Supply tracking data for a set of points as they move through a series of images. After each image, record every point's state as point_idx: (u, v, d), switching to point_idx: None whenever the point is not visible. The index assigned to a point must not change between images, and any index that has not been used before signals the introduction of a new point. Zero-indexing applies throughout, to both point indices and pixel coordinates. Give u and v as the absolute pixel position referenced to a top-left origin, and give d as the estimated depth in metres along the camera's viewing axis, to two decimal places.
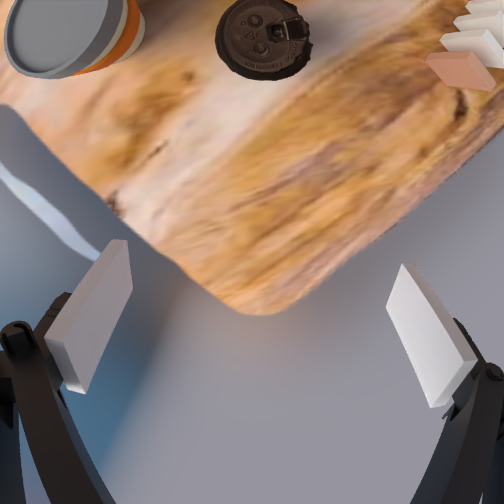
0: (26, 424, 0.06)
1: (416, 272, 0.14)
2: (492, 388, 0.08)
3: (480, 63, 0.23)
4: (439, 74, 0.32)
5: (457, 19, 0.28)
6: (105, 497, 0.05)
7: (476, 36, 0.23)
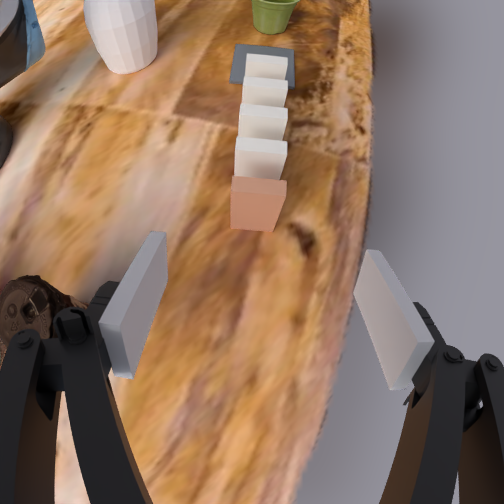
0: (71, 409, 0.06)
1: (380, 257, 0.15)
2: (452, 371, 0.08)
3: (251, 179, 0.29)
4: (253, 228, 0.38)
5: None
6: (143, 490, 0.06)
7: (235, 156, 0.31)
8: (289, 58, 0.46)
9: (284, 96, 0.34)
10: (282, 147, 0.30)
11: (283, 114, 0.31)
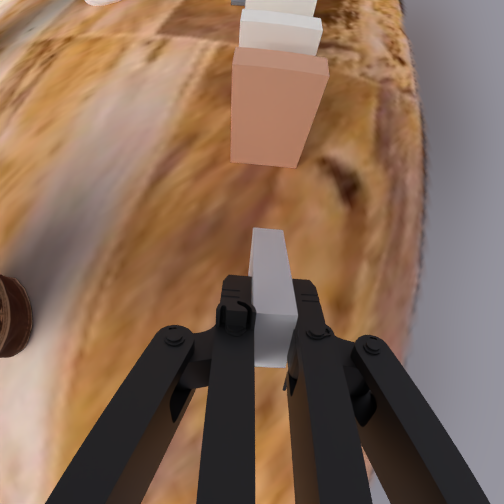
0: (211, 396, 0.08)
1: (279, 236, 0.15)
2: (321, 350, 0.09)
3: (267, 51, 0.15)
4: (267, 160, 0.23)
5: None
6: None
7: (240, 35, 0.17)
8: None
9: None
10: (314, 23, 0.16)
11: None
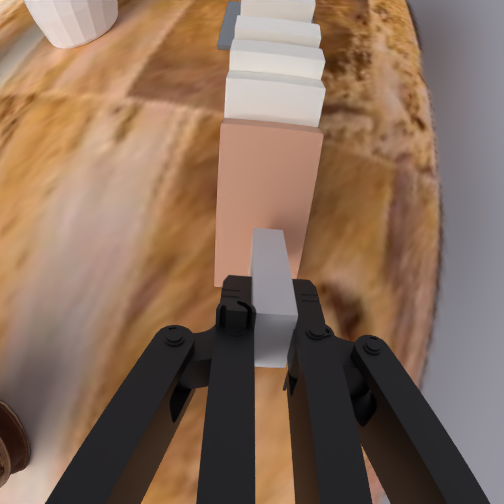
0: (212, 396, 0.08)
1: (279, 236, 0.15)
2: (321, 350, 0.09)
3: (256, 121, 0.16)
4: None
5: None
6: None
7: (226, 99, 0.15)
8: None
9: None
10: (314, 83, 0.15)
11: (316, 54, 0.15)
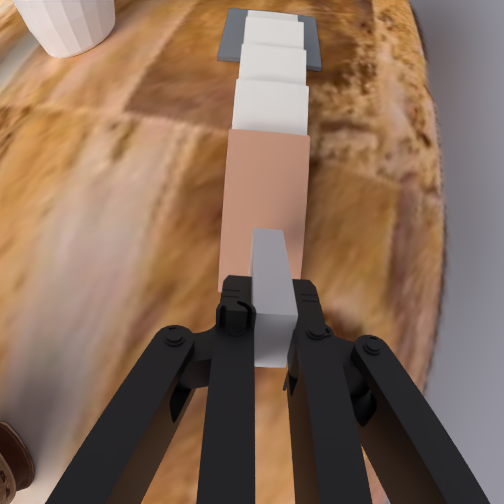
0: (211, 396, 0.08)
1: (279, 236, 0.15)
2: (321, 350, 0.09)
3: None
4: None
5: None
6: None
7: (235, 95, 0.20)
8: (309, 28, 0.29)
9: (301, 31, 0.22)
10: None
11: None
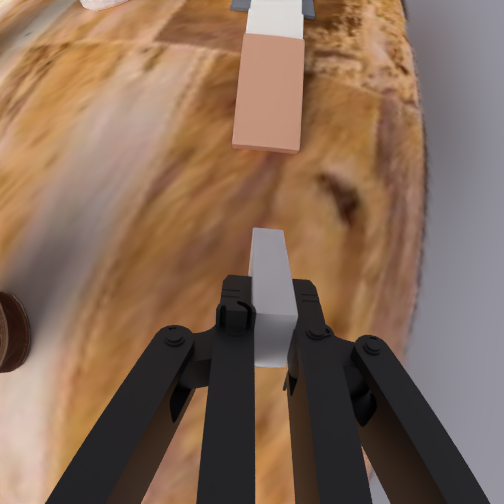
0: (211, 396, 0.08)
1: (279, 236, 0.15)
2: (321, 350, 0.09)
3: None
4: (269, 137, 0.23)
5: None
6: None
7: (248, 18, 0.23)
8: None
9: None
10: None
11: None
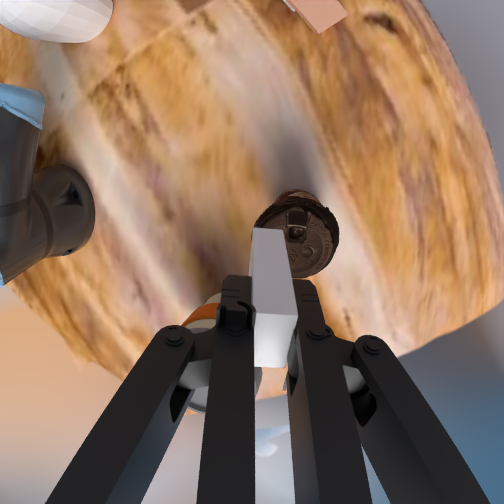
0: (211, 396, 0.08)
1: (279, 236, 0.15)
2: (321, 350, 0.09)
3: None
4: (332, 18, 0.30)
5: None
6: None
7: None
8: None
9: None
10: None
11: None
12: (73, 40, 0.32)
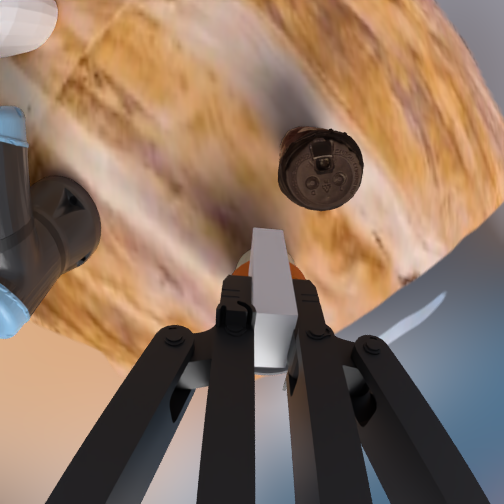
0: (211, 396, 0.08)
1: (279, 236, 0.15)
2: (321, 350, 0.09)
3: None
4: None
5: None
6: None
7: None
8: None
9: None
10: None
11: None
12: (26, 49, 0.27)
